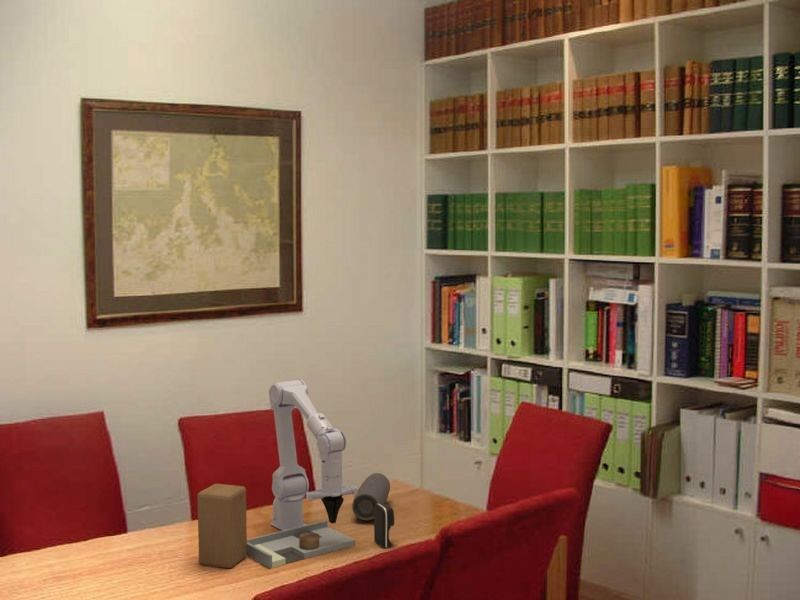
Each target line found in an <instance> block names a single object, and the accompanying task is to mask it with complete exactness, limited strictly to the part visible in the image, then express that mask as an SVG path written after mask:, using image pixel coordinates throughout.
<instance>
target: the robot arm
mask: <svg viewBox="0 0 800 600" xmlns="http://www.w3.org/2000/svg"><path fill="white" fill-rule="evenodd" d="M308 394H309V389H308V385H307V384H306V382H305V381H304V380H303V379H301V378H299V379H294V380H288V381H287V380H285V381H279V382H272V384H271V386H270V387H269V389H268V397H269V405H270V409H271V410H272V411H273V416H274V426H275V433H276V441H277V451H278V457H279V458H278V459H279V466H278V468H277V469H276V470H275V471H274V472H273V473H272V483H271V484H272V485H271V491H272V494H273V497H275V498H274V500H273V503H272V522H270V525H271V526H273V527H275V528H276V529H279V530H280V531H284V530H288V529H292V528H296V527H300V526H304V525H308V523H304V498H305V499H306V501H308V502H312V501H313V500H314V501H315V500H319V499H320V500H321V502H322V504H323V506H324V508H325V511H326V514H327V518H328V522H329V523H330V524H336V523H337V520H338V519H337V518H338V515H339V512H340V510H341V507H342V505H343V503H344V501H345V499H344V496H350V495H357V494H358V490H359V488H358V487H357V486H356V485H353V486H343V451H344V450H345V449H346V447H347V439H346V436H345V434H344V433H343V431H342V430H341V429H338V428H334V426H333V425H332V424H331V423H330V421H329V420H328V418H327V417H326V416H325V414H324V413H321V412H318V410H317V409H316V407H315V406H314V404H313V402H312V401H311V399H310V397H309V395H308ZM295 408H296V409H298V411H299V412H300V413H301V414H302V415H303V416H304V418H305V419H306V420H307V422H306V427H307V428H308V430H309V431H310V432H311V434H312V436H313V437H314V438H315V440H316V447H317V450H318V453H319V455H318V456H319V459H320V460H321V464H320V465H321V488H319V489H316V490H315V489H314V490H312V491H309V488H310V483H309V479H308V477H307V476H308V475H307V473H306V468H304V467H302V466H300V465H299V464H298V457H297V448H296V440H295V431H294V422H293V415H292V412H293V411H294V409H295Z"/></svg>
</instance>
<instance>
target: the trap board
mask: <svg viewBox="0 0 800 600" xmlns="http://www.w3.org/2000/svg"><path fill="white" fill-rule="evenodd" d="M303 533H317V534H319V547H318V548H317V549H313V550H304V549H301V548H300V547H299V536H300V535H301V534H303ZM354 546H356V539H355V538H352V537H350V536H348V535H345V534H344V533H342V532H340V531H337V530H336V529H334V528H331V527H329V526H328V520H321V521H318V522H313V523H309V524H308V523H307V525H304V526H300V527H296V528H292V529H288V530H284V531H282V530H280V531H277V532H272V533H267V534H264V535H260V536H255V537H252V538H248V539H247V556H246V557H248V558H250V559H252V560H254V561H256V562H258V563H259V564H261V565H263V566H264V565H265V566H264V567H267V568H268V569H273V568H276V567H281V566H285V565H287V564H291V563H295V562H299V561H303V560H306V559H310V558H313V557H317V556H320V555H324V554H328V553H332V552H335V551H339V549H340V550H343V549H346V548H347V549H348V548H351V547H354Z"/></svg>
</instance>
